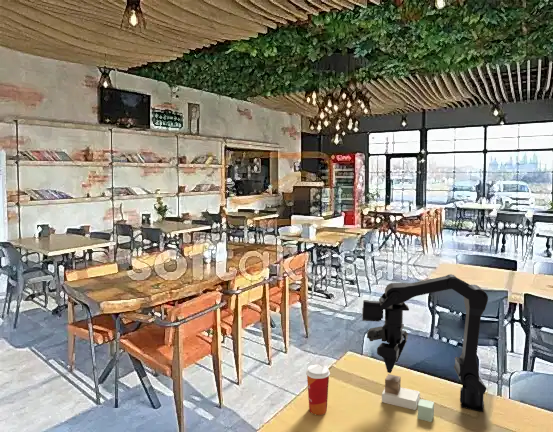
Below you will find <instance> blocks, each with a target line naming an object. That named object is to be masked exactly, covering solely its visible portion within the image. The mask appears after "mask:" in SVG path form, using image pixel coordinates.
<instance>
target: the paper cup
mask: <svg viewBox="0 0 553 432" xmlns="http://www.w3.org/2000/svg"><path fill="white" fill-rule="evenodd" d="M305 374H306V380H307V393H308V394H307V395H308V398H307V399H308V410H309V412H310V413H311V414H312V413H313V414H312V415H314V414H316V415H315V416H323V415H325V414H326V413H327V409H328V396H329V383H330V382H329V381H330V380H329V379H330V377H329V376H330V375H331V372H330V370H329V368H328V366H326V365H323V364H322V365H320V364H311V365H309V366H308V367H307V369H306V371H305Z"/></svg>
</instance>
